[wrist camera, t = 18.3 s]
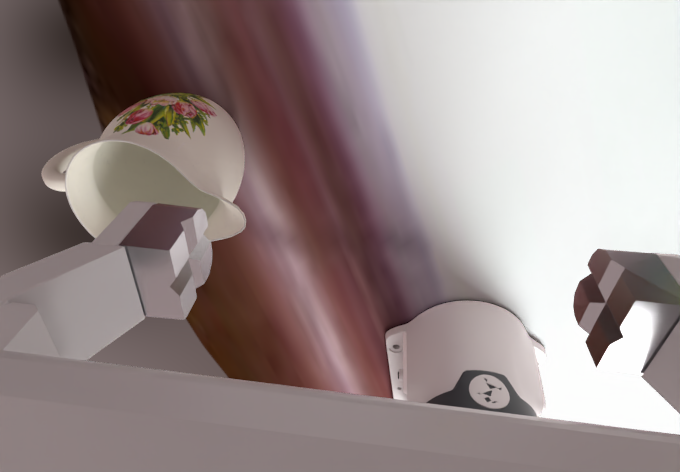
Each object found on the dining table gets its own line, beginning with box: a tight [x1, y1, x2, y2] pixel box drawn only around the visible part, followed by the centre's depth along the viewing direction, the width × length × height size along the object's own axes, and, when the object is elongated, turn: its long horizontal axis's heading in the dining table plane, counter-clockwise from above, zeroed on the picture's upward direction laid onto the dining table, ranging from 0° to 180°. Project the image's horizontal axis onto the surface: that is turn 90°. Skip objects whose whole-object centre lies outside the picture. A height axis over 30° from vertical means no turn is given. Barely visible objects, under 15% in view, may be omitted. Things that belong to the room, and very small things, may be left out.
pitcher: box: [41, 93, 246, 242], centre depth 38 cm, size 11×18×14 cm, turn 89°
